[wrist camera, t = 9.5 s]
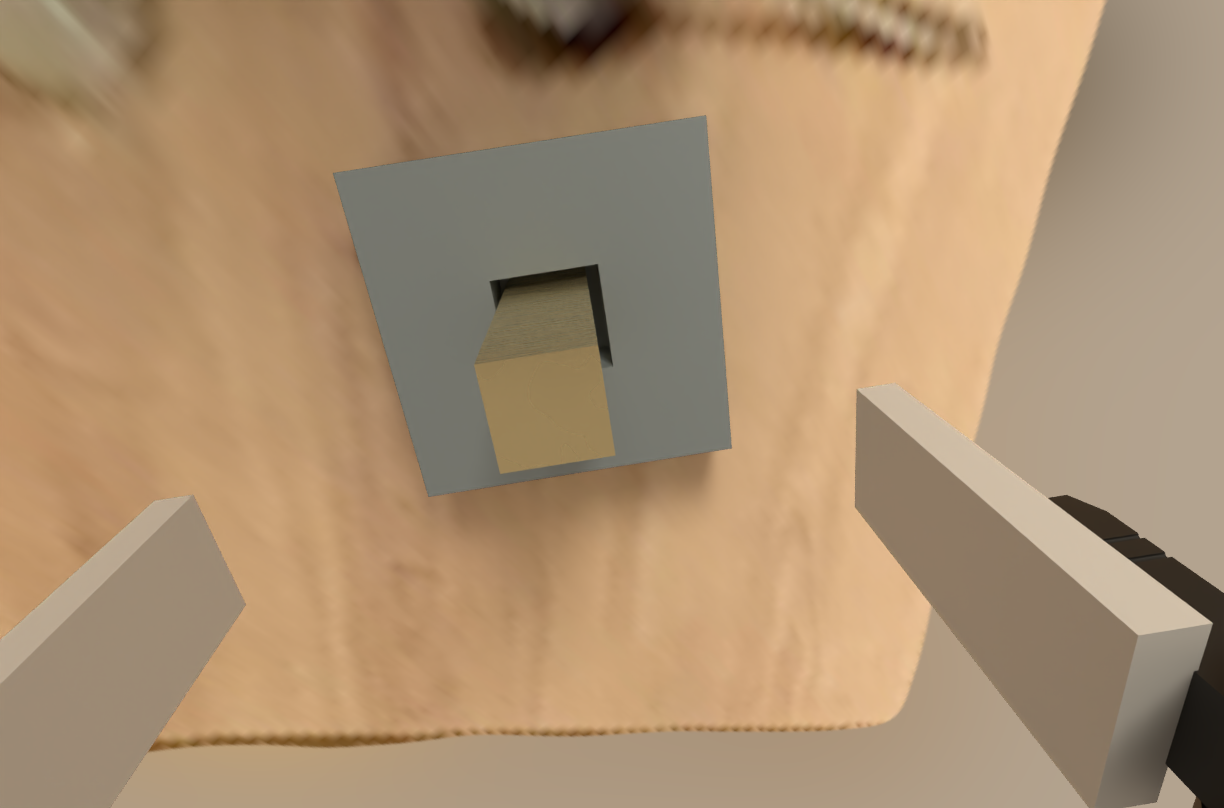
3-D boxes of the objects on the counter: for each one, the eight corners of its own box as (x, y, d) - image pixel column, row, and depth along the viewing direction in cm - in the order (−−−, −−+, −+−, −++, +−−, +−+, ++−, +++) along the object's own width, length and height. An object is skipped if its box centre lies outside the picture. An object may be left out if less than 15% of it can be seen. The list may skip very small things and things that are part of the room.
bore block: (360, 169, 27) (332, 173, 23) (689, 118, 27) (706, 115, 24) (442, 461, 32) (428, 496, 29) (714, 417, 32) (731, 448, 29)
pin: (509, 278, 28) (473, 364, 17) (584, 266, 28) (598, 344, 17) (524, 350, 29) (499, 474, 18) (596, 338, 30) (615, 455, 18)
